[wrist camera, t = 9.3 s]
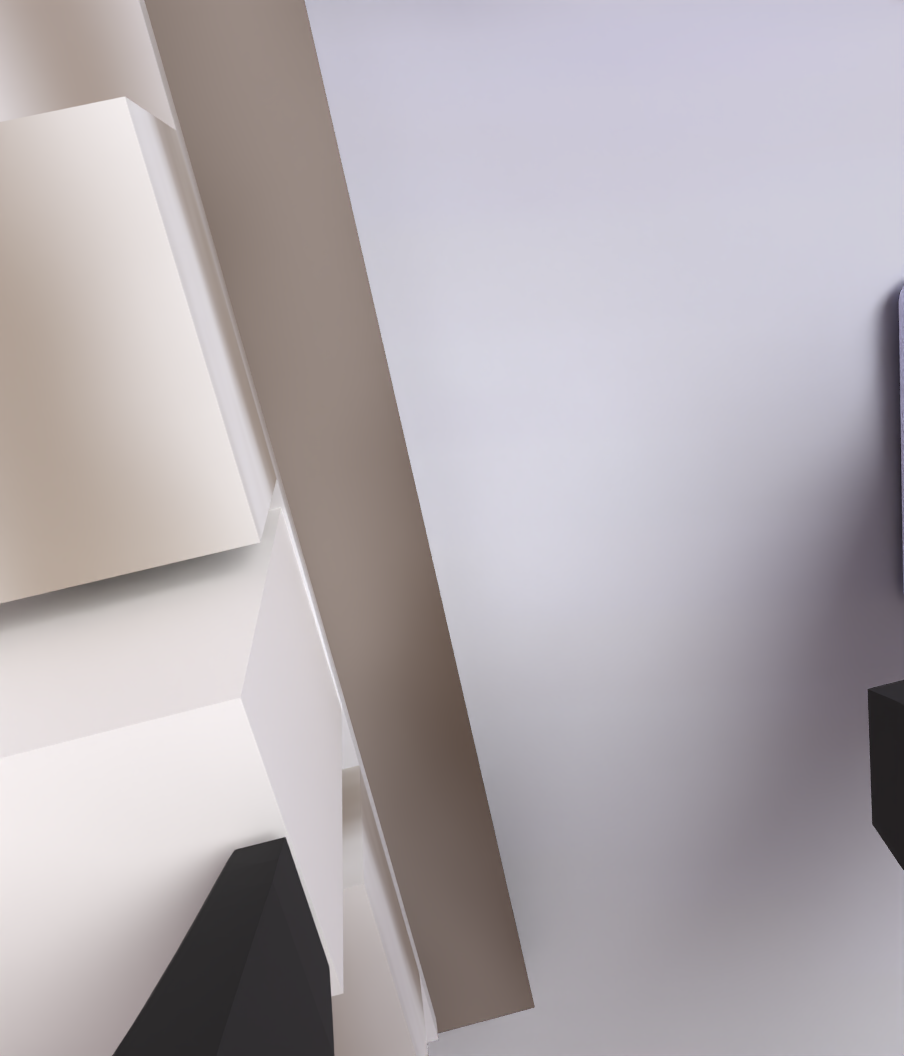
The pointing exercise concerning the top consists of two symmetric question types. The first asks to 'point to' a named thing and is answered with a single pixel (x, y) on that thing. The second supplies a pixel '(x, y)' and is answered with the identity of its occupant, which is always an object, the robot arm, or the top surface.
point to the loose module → (154, 778)
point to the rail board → (350, 472)
